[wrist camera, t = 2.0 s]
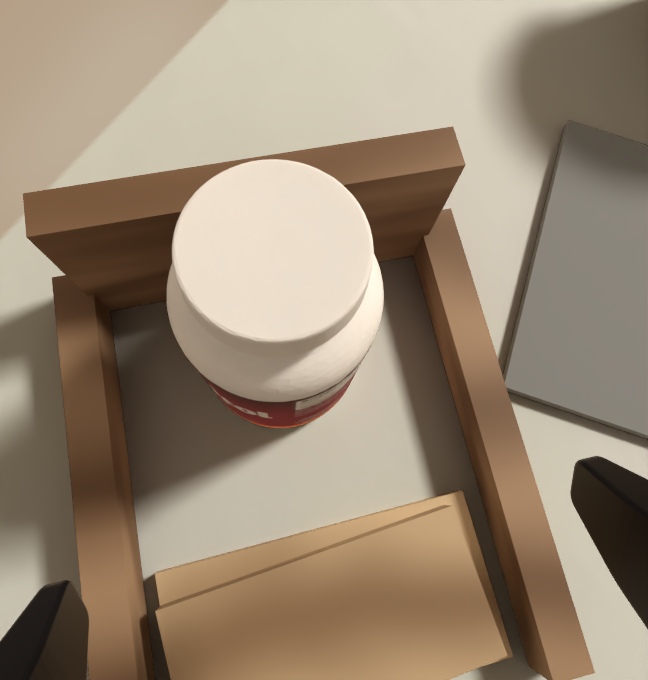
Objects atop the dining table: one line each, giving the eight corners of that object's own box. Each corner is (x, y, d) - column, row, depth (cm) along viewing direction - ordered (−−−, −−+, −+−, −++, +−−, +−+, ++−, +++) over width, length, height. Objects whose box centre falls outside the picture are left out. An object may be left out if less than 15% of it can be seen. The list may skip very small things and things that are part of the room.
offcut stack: (503, 655, 21) (529, 675, 18) (191, 752, 19) (178, 787, 17) (453, 491, 22) (472, 490, 20) (162, 569, 21) (146, 578, 19)
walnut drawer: (566, 656, 20) (700, 735, 14) (121, 778, 19) (24, 939, 12) (435, 220, 25) (487, 121, 18) (70, 284, 23) (-20, 200, 17)
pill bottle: (178, 344, 23) (79, 216, 12) (294, 263, 24) (296, 84, 14) (266, 463, 22) (242, 434, 11) (383, 371, 23) (460, 267, 12)
